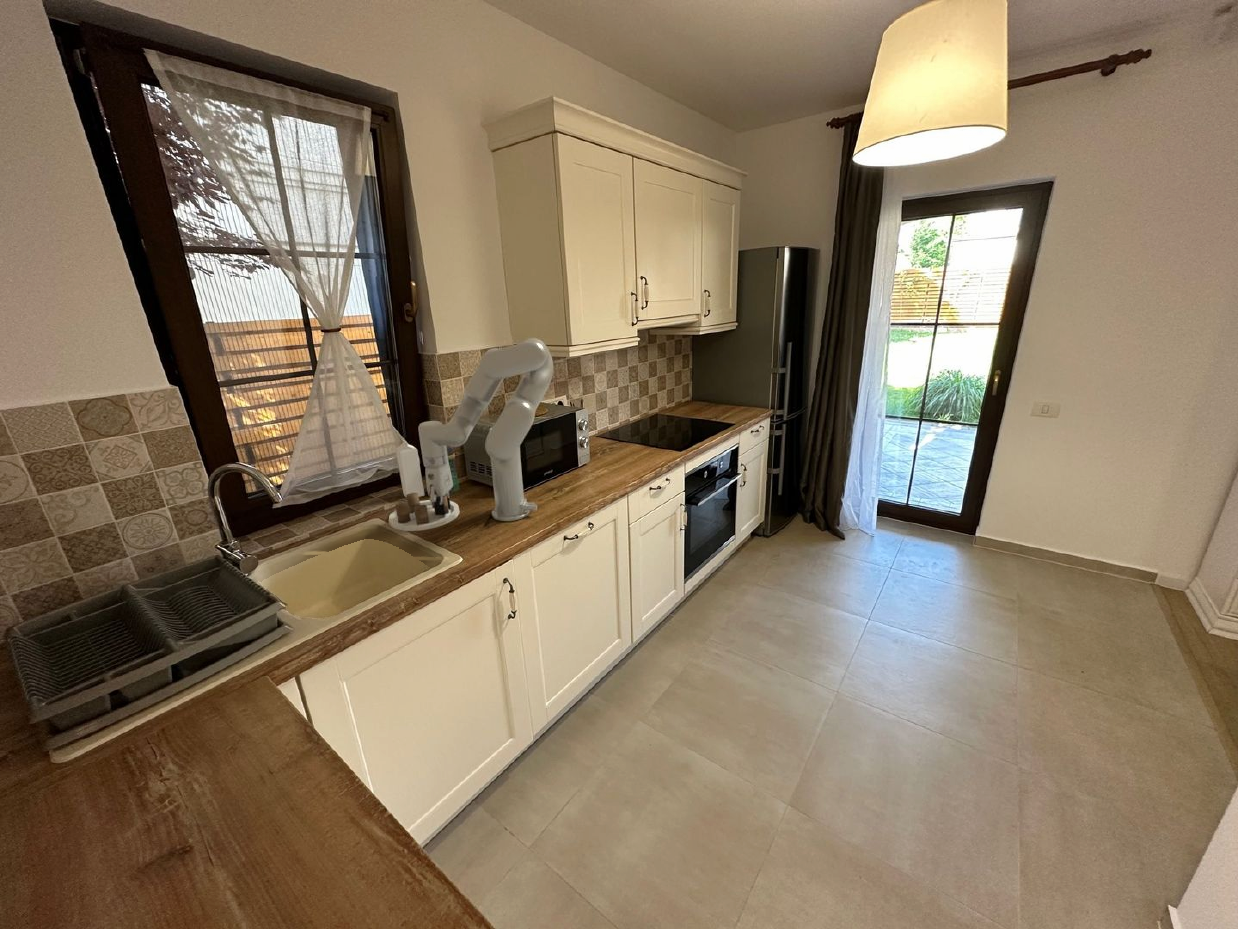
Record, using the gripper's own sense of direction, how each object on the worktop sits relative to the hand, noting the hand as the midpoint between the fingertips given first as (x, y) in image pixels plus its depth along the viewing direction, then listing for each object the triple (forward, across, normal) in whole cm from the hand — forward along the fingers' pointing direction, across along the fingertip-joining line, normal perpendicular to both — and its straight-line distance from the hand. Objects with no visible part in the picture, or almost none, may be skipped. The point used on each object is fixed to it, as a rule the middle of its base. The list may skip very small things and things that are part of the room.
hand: (443, 511), depth 161 cm
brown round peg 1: (+2, -4, +12) cm, 12 cm away
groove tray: (+3, 0, +6) cm, 7 cm away
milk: (+3, +18, +18) cm, 26 cm away
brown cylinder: (+2, +6, +4) cm, 8 cm away
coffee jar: (+3, +24, +8) cm, 26 cm away
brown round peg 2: (+2, -6, +4) cm, 8 cm away
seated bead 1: (+2, +4, +12) cm, 12 cm away
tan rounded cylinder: (+1, 0, 0) cm, 1 cm away
